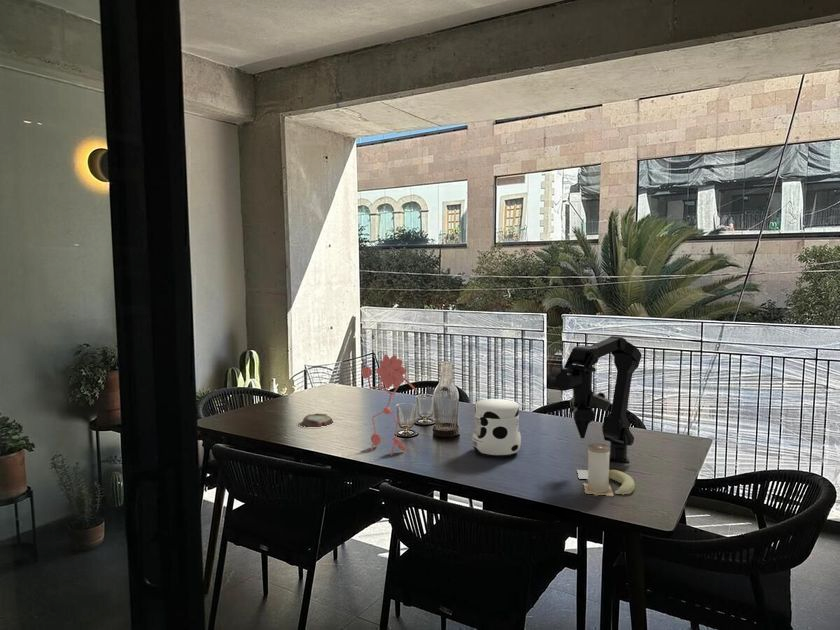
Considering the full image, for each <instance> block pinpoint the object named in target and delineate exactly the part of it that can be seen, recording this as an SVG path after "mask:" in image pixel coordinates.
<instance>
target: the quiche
mask: <svg viewBox="0 0 840 630" xmlns="http://www.w3.org/2000/svg"><path fill="white" fill-rule="evenodd" d="M302 419H303V420H302V421H301V423H300V422H299V423H300V424H298V423H297V424H298V425H300V426H303V427H304V426H305V427H321V426H327V425H330V424H332V423H333V422H334V420H333V418H332V417H331V416H329V415H328V414H326V413H313V414H307V415H306V416H304V417H303V418H302ZM333 424H334V423H333ZM333 424H332V425H333ZM330 426H331V425H330ZM303 427H302V428H303ZM327 427H328V426H327ZM321 428H322V427H321Z"/></svg>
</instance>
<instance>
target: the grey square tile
mask: <svg viewBox="0 0 840 630" xmlns="http://www.w3.org/2000/svg"><path fill="white" fill-rule="evenodd" d="M576 473H578V474H577V478H579V479H588V469H576ZM579 479H578V480H579Z"/></svg>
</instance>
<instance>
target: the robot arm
mask: <svg viewBox="0 0 840 630" xmlns="http://www.w3.org/2000/svg"><path fill="white" fill-rule="evenodd" d="M609 354H611V355H612V357H613V364H614V366H615V368H616V370H617V373H616V377H615V378H616V379H615V386H614V391H613V398H612V405H611V401H610V400H609V398H606V394H605V393H604V392H602V391H601V392H598V393H594V391H593V389H592V387H593V384H592V383H593V373H595V372H596V371H597V369H596V368H595V367H594V366H595V365H596V364H597V363H598V362H599V359H600V358H602V357H604V356H606V355H609ZM641 359H642V352H641V351H640V349H639V348H638V347H637V346H636V345H633V344H632V343H631V342H629V341H627V340H626V339H625V338H624V337H622V336H614V335H611V336H609V337H608V338H606V339H603V340H601V341H598V342H596V343H594V344H591V345H581V346H574V347H573V348H572V349H571V351H570V353H569V356H568V358H567V360H566V362H565V364H564V367H562V368H560V372H558V373H557V375H556V376H555V378H554V380H555V386H556V387H557V389H559V390H560V391H563V392H567V391H569V390H572V397H571V398H570V399H569V405H570V410H571V414H572V416H573V421H574V423H575V427H576V429H577V431H578V433H579V436H580V439H585V437H586V434H587V430H588V426H589V424H590V423H591V422H593V421H594V420H595V419H596V413H595V411H594V410H593V408H594V407H595V408H598V409H600V410H602V411H604V412H607V411H608V408H609V406H610V405H611V409H610V413H609V414H607V416H606V415H605V416H604V417H603V423H602V426H601V428H602V430H601V431H602V435H603V440H604V441H607V442H609V447H610V451H609V462H610V463H611V462H613V463H630V459H629V457H628V446H632V445H633V444H634V441H635V437H634V435H633V434H632V432H631V430H630V422H629V419H628V416H627V409H628V404H629V397H630V392H631V386H632V384H631V383H632V379H633V375H634V374H633V373H634V372H635V371H636V370H637V369H638V368H639V366H640V363H641Z"/></svg>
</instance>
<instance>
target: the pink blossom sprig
mask: <svg viewBox="0 0 840 630" xmlns="http://www.w3.org/2000/svg"><path fill="white" fill-rule="evenodd" d="M402 364H403V360H402V359H401V358H397V355H396V354H393V355H392V356H391V357H390V356H389V355H388V354H384V355H383V359H380V362H379V365H380V367H379V368H377V369H376V373H377V375H379V376H380V379H379V381H380V382H381V383H383V384H382V385H381V386H371V378H370V377H371V376H372V373H373V371H372V368H370V366H368V365H367V366H365V367H363V368H362V369H361V376H362V378H364V379H368V380H367V381H368V388H369V389H380V390H383V391H385V392H387V394H389V398H388V403H387V406H385V407H384V408H383V410H382V412H379V413H377V414H376V415H373V416H372V424H373V430H374V433H372V435H371V436H370V441H371V443H372V444H371V448H370V451H371V452H372V451H373V449H374V446H375V447H377V446H378V445H380V444H381V442H383V443H384V442H385V443H386V442H387V443H388V442H389V443H393V445H392V449H391V452H390V456H393V453H394V449H395V446H397V447H398V448H399V449H400V450H402V451H403V452H404V453H405V452H406V448H405V445H406V443H405V442H403V441H400V439H398V437H397V436H398V419H397V418H396V417H395V416H394V414H393V413H392V412H391V408H390V406H389V405H390V402H391V398H392V396H394V394H395V393H396V392H397V390H398V388H399V387H400V386H401V384H403V383H404V382H405V383H406V384H408V386H409V387H411V388H412V390H414V391H415V392H417V393H418V392H419V390H417V388H416V387H415V385H413V384H412V383H411V382H410V381H409V380H408V379H407V378H405V377H404V375H405V374H406V373H407V370H406V368H405V367H404V366H402ZM392 386H393V387H394V388H395V389H393V392H391V391H390V390H388V389H390V388H391V387H392ZM383 413H384V414H385V415H389V414H391V416H392V418H394V420H395V422H396V423H395V424H396V425H395V426H396V427H395V436H394V437H393V438H392V441H390V440H382V438H381V435H380V434H379V433H377V431H376V427H375V421H374V420H375V419H374V418H375V417H377V416H379V415H381V414H383ZM407 444H408V443H407ZM408 446H410V447H412V445H410V444H408ZM405 458H406V459H407V456H406V457H404V459H405Z"/></svg>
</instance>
